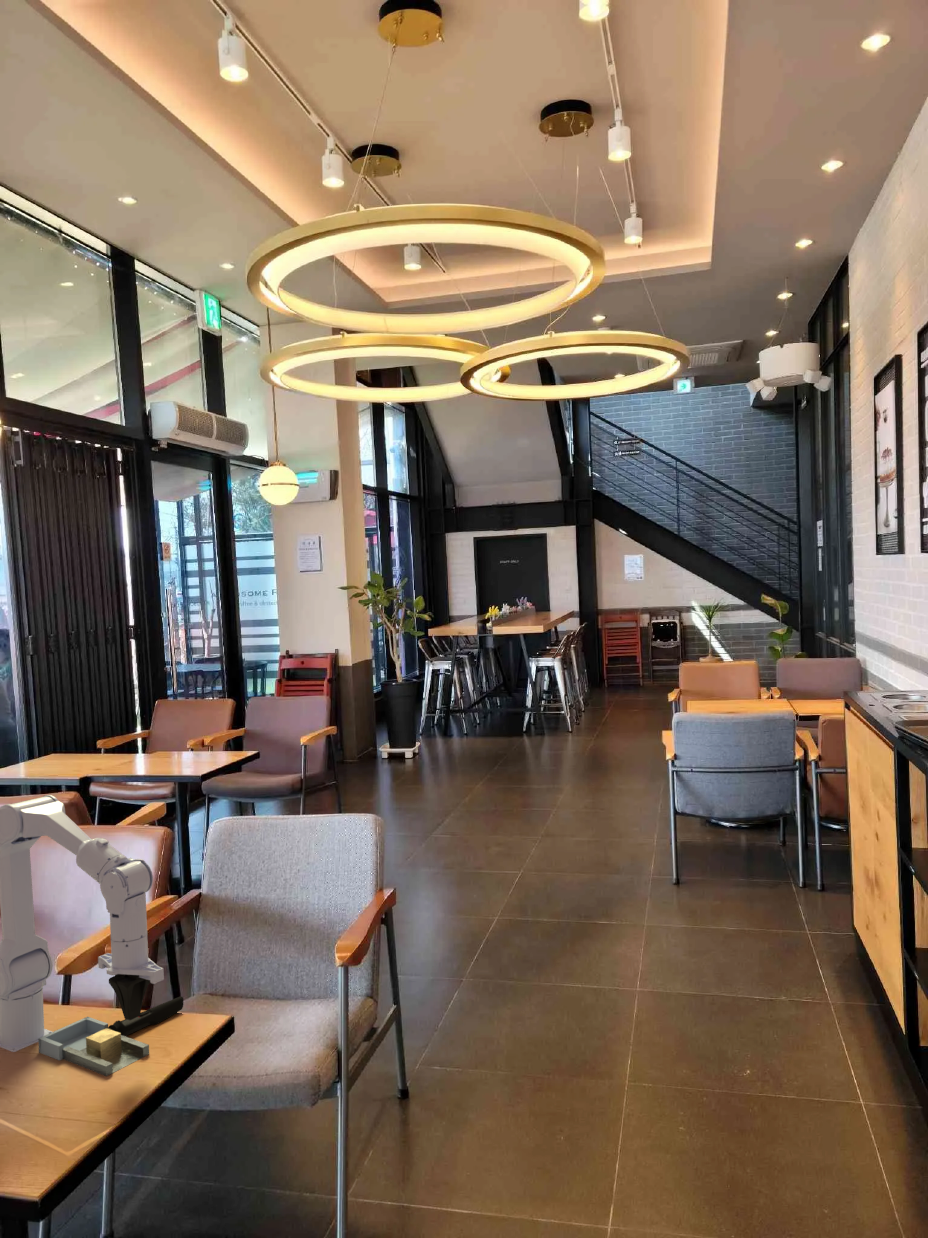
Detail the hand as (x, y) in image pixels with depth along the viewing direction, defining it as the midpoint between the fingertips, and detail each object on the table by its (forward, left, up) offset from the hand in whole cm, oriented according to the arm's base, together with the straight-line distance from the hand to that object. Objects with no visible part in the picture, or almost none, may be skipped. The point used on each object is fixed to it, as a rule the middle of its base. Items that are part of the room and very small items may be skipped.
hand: (132, 1017), depth 149 cm
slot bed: (-8, 0, -9) cm, 12 cm away
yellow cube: (-8, 0, -8) cm, 12 cm away
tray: (-17, 0, -9) cm, 19 cm away
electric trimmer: (-12, +11, -9) cm, 18 cm away
